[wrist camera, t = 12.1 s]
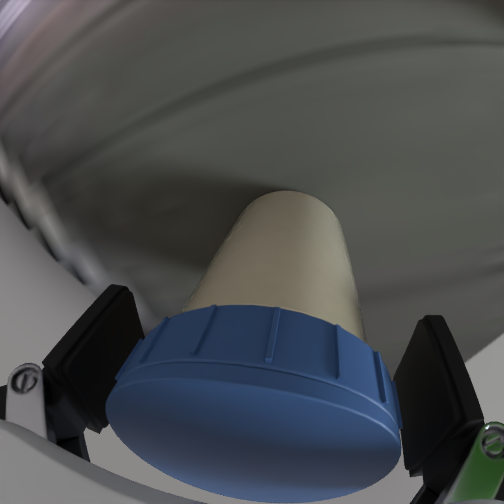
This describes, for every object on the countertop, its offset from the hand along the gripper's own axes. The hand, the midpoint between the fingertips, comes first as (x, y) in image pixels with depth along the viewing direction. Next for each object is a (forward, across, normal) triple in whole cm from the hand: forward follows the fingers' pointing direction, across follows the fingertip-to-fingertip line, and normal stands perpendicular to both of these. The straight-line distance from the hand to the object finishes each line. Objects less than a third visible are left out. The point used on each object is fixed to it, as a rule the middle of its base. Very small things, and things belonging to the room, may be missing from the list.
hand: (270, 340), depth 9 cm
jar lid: (-4, 0, 0) cm, 4 cm away
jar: (+7, 0, 0) cm, 7 cm away
